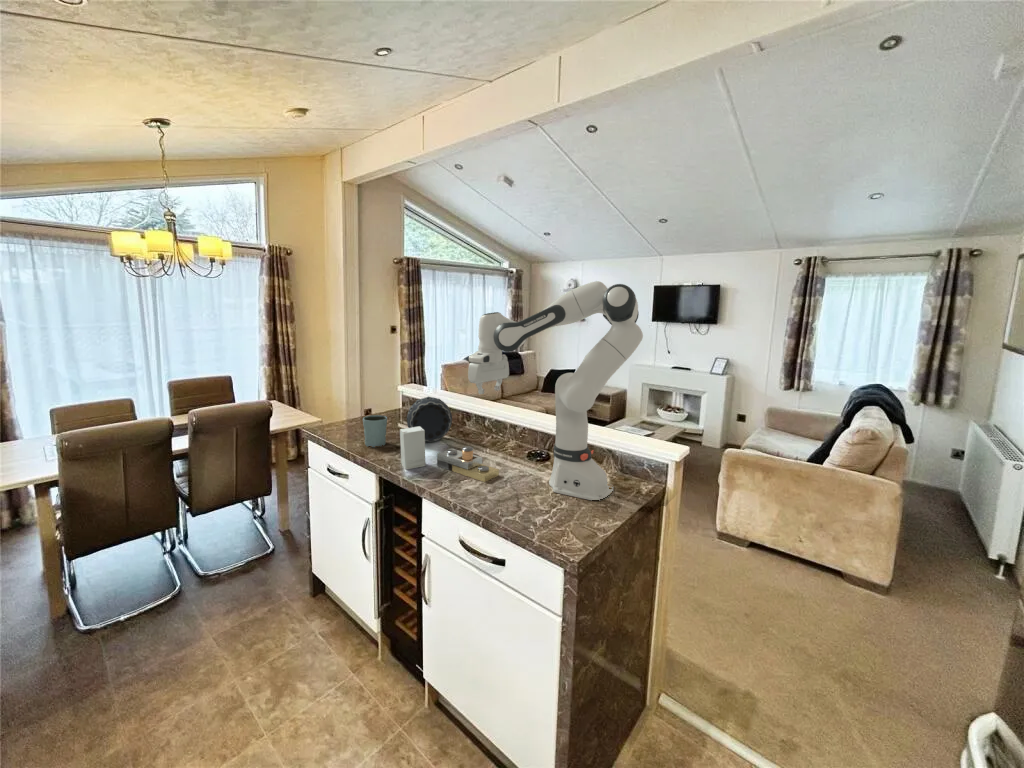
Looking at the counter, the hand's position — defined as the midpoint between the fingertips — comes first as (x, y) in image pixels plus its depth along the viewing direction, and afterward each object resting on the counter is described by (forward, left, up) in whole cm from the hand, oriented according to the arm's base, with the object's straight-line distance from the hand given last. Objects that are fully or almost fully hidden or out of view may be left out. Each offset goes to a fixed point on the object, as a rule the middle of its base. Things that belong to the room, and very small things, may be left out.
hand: (489, 392), depth 167 cm
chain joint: (+2, +10, -29) cm, 31 cm away
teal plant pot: (+54, +13, -29) cm, 63 cm away
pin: (+2, +10, -29) cm, 31 cm away
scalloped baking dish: (+40, -6, -29) cm, 50 cm away
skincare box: (+21, +20, -29) cm, 41 cm away
